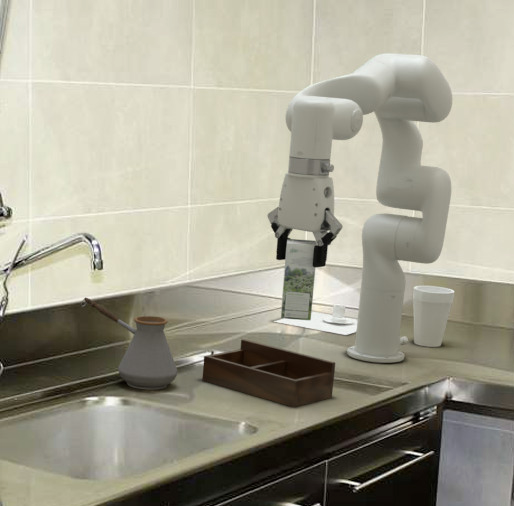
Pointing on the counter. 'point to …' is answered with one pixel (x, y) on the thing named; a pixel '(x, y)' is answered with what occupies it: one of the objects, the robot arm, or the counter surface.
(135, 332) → the coffee pot
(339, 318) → the teacup and saucer
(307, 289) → the tea packet
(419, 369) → the counter surface
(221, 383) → the compartment tray
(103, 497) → the counter surface
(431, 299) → the foam cup
